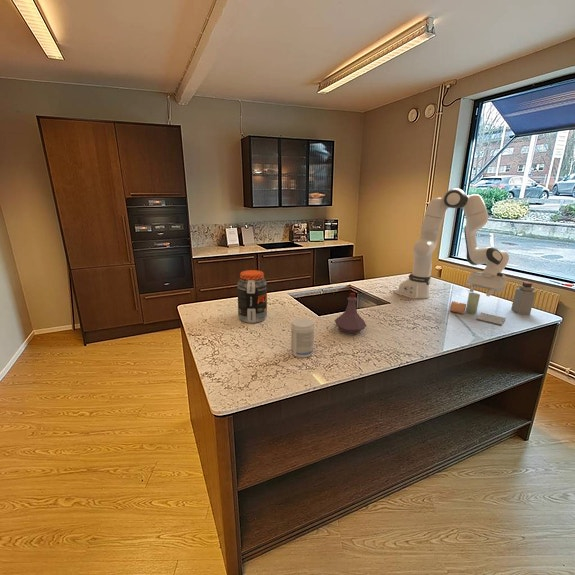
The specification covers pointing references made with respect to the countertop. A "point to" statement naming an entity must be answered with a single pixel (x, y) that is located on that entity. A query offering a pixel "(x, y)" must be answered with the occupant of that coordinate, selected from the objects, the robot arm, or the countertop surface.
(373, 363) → the countertop surface
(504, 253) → the robot arm
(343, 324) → the flask
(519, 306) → the perfume bottle
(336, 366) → the countertop surface
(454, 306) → the tan rounded cylinder
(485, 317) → the plate
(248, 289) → the supplement tub
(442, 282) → the countertop surface
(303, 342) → the supplement tub
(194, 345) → the countertop surface
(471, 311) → the pale green rounded cylinder
